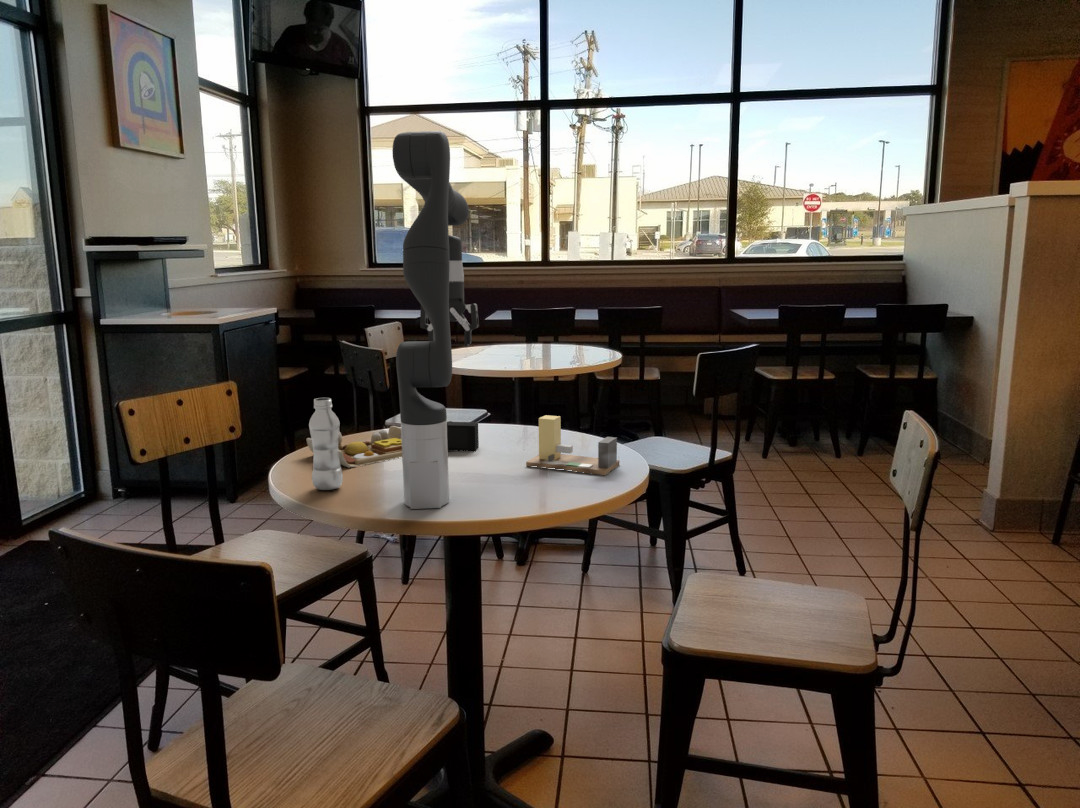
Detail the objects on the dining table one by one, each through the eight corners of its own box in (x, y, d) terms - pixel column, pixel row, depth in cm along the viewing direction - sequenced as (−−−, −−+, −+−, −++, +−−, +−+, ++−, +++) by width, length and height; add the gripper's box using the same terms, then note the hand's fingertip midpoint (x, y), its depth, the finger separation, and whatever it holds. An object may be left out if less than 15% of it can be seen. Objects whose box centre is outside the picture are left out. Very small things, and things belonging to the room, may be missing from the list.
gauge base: (526, 466, 189) (525, 437, 187) (543, 456, 198) (543, 428, 196) (604, 475, 180) (605, 445, 179) (619, 465, 189) (619, 435, 188)
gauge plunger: (535, 461, 188) (534, 420, 186) (545, 455, 194) (545, 415, 192) (564, 464, 185) (564, 422, 183) (574, 458, 191) (574, 417, 189)
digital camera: (480, 446, 209) (479, 420, 208) (475, 451, 204) (475, 425, 202) (442, 445, 210) (441, 420, 209) (436, 450, 205) (435, 424, 204)
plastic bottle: (331, 483, 177) (325, 395, 173) (349, 488, 173) (344, 398, 169) (306, 489, 172) (300, 399, 168) (325, 495, 168) (319, 403, 164)
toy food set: (340, 472, 187) (338, 440, 186) (306, 458, 201) (304, 428, 199) (429, 453, 204) (428, 424, 202) (392, 441, 217) (391, 414, 216)
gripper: (415, 280, 190) (418, 347, 192) (473, 279, 188) (475, 347, 190) (424, 280, 197) (426, 344, 200) (480, 279, 195) (481, 344, 198)
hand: (450, 346), depth 195 cm, fingers open, 8 cm apart
